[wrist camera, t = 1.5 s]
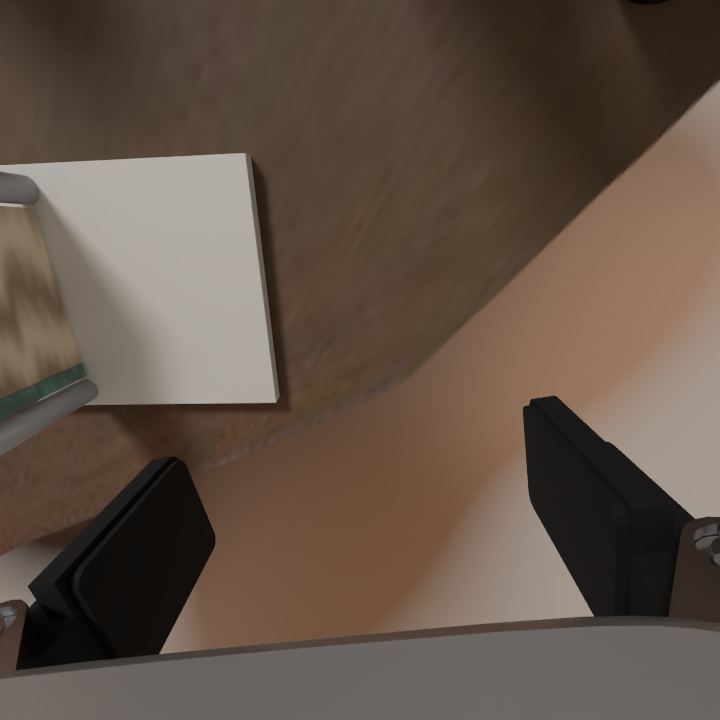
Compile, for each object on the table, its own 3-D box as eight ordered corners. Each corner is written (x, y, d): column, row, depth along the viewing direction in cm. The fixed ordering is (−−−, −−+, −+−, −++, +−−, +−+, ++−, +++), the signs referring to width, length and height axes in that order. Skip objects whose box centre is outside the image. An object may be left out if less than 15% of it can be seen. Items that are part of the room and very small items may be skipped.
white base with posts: (-30, 170, 34) (-309, 130, 20) (251, 156, 32) (157, 103, 18) (50, 399, 41) (-112, 483, 28) (279, 396, 40) (228, 484, 26)
